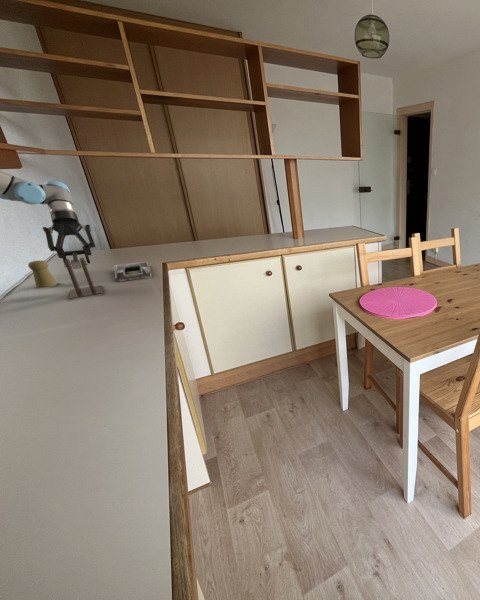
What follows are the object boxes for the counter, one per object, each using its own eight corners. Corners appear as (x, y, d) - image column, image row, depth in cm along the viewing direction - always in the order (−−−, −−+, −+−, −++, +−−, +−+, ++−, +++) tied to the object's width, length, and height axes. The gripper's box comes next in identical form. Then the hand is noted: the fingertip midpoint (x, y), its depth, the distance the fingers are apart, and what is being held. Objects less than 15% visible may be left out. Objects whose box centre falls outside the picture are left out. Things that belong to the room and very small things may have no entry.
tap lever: (66, 255, 123) (63, 250, 121) (85, 253, 126) (83, 248, 125) (66, 270, 115) (64, 264, 114) (87, 267, 118) (85, 261, 117)
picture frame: (149, 266, 158) (147, 261, 157) (154, 278, 141) (152, 272, 139) (114, 271, 150) (112, 265, 149) (115, 284, 132) (113, 277, 131)
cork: (32, 288, 125) (20, 262, 121) (51, 284, 131) (40, 258, 127) (43, 290, 124) (32, 263, 120) (62, 285, 130) (51, 259, 126)
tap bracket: (71, 292, 122) (58, 258, 117) (102, 287, 128) (90, 254, 123) (70, 301, 114) (55, 264, 109) (103, 295, 120) (90, 260, 115)
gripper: (96, 219, 136) (110, 264, 131) (33, 223, 124) (46, 272, 119) (92, 208, 130) (107, 254, 125) (26, 210, 118) (39, 261, 113)
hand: (77, 262), depth 122 cm, fingers closed on tap lever, 5 cm apart
